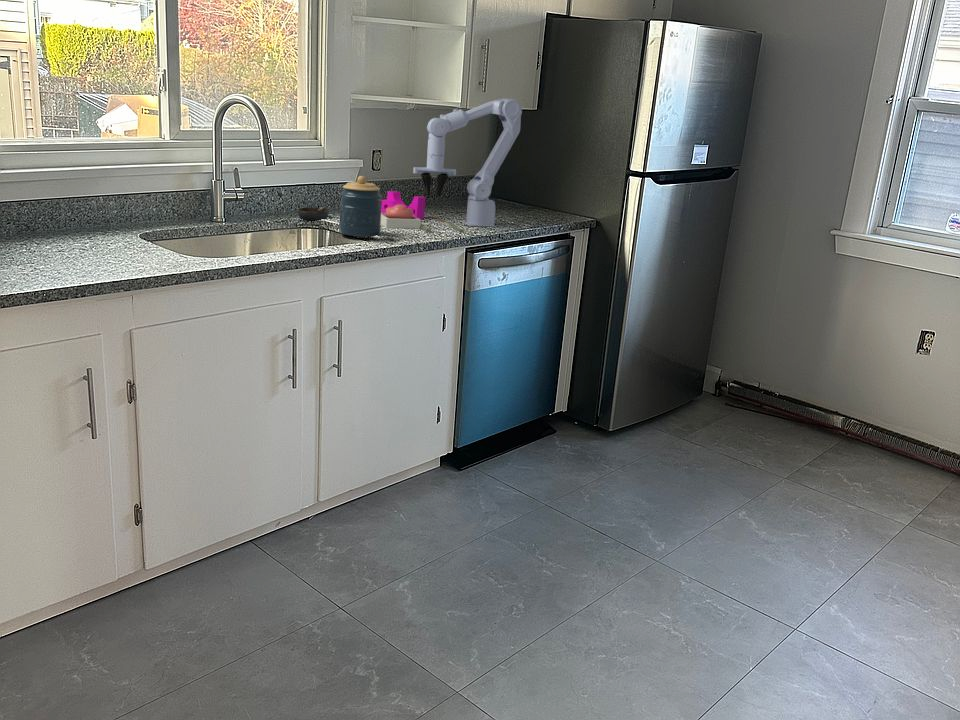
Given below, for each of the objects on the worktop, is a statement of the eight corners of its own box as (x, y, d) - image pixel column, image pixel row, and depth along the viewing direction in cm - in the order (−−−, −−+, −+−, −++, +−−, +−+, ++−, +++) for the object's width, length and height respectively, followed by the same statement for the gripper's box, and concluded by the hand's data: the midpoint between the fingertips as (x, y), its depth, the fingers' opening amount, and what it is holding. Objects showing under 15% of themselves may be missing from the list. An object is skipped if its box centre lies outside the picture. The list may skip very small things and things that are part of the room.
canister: (345, 237, 265) (347, 177, 260) (333, 230, 276) (335, 172, 271) (386, 237, 270) (389, 179, 265) (373, 230, 281) (375, 174, 276)
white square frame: (410, 223, 302) (411, 214, 302) (420, 228, 292) (420, 219, 291) (377, 222, 298) (378, 213, 297) (386, 227, 288) (386, 218, 287)
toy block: (381, 212, 315) (382, 191, 313) (393, 211, 320) (395, 191, 318) (411, 219, 307) (413, 197, 304) (423, 218, 311) (425, 197, 309)
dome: (408, 220, 300) (409, 203, 299) (415, 224, 292) (416, 206, 291) (382, 220, 297) (383, 202, 296) (389, 224, 289) (390, 206, 288)
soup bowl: (337, 223, 307) (338, 202, 305) (332, 230, 292) (333, 208, 290) (294, 220, 306) (294, 199, 304) (287, 227, 291) (287, 205, 289)
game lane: (433, 217, 321) (433, 214, 321) (463, 232, 291) (464, 230, 291) (398, 216, 317) (398, 213, 317) (426, 231, 287) (426, 229, 286)
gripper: (452, 155, 302) (450, 195, 306) (411, 152, 297) (409, 193, 301) (459, 156, 295) (456, 197, 299) (417, 154, 291) (415, 196, 294)
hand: (433, 195), depth 300 cm, fingers open, 3 cm apart
